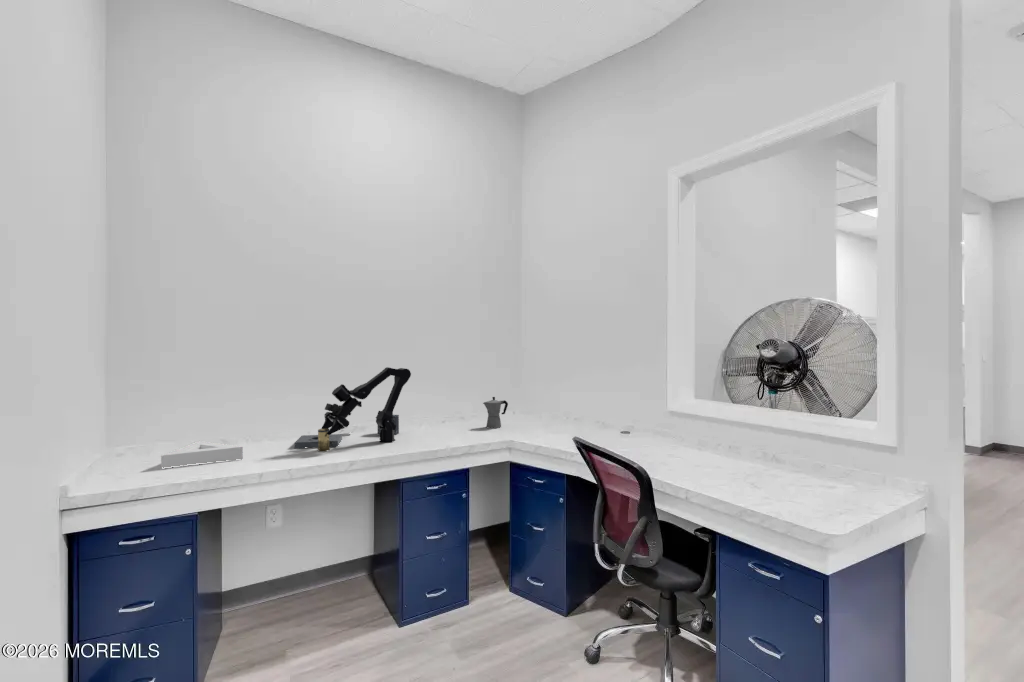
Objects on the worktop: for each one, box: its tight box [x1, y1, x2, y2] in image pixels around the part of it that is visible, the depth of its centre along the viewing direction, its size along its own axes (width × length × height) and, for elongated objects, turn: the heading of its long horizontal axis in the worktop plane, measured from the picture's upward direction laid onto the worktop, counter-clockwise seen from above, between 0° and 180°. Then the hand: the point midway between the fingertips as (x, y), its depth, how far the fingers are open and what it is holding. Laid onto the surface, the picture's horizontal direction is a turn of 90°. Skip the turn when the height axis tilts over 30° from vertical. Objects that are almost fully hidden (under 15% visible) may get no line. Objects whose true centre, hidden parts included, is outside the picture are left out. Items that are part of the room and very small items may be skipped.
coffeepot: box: [482, 396, 509, 429], centre depth 315 cm, size 15×9×18 cm, turn 109°
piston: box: [317, 428, 330, 452], centre depth 252 cm, size 5×5×10 cm
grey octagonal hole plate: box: [294, 433, 343, 449], centre depth 267 cm, size 20×18×3 cm
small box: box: [377, 414, 400, 436], centre depth 294 cm, size 11×6×10 cm, turn 84°
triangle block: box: [160, 440, 244, 468], centre depth 233 cm, size 30×26×6 cm
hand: (324, 432), depth 252 cm, fingers open, 9 cm apart
